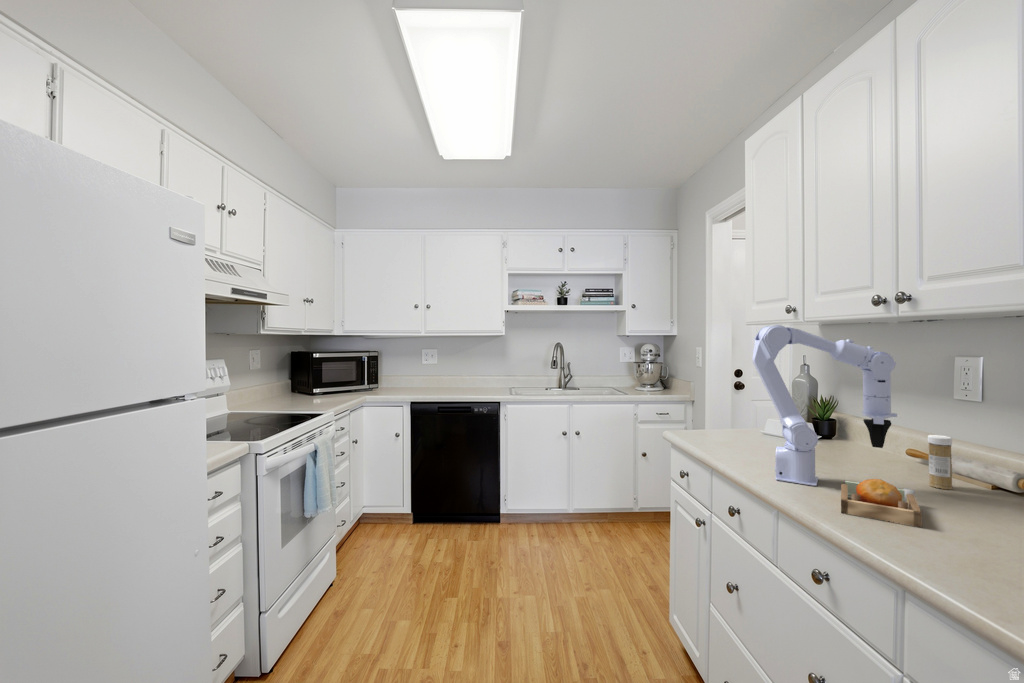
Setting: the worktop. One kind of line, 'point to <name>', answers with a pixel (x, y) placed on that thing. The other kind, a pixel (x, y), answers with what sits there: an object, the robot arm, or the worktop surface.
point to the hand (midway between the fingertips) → (877, 447)
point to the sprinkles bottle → (940, 461)
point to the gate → (852, 489)
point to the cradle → (882, 509)
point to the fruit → (878, 492)
